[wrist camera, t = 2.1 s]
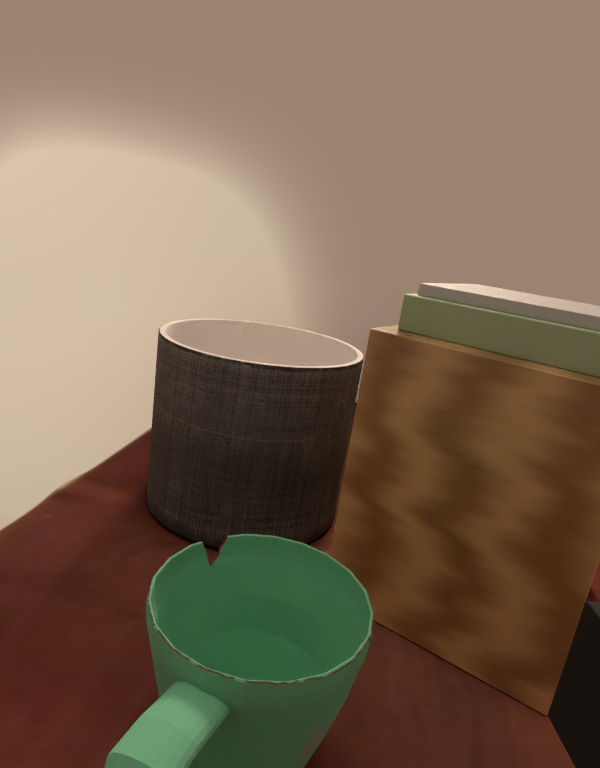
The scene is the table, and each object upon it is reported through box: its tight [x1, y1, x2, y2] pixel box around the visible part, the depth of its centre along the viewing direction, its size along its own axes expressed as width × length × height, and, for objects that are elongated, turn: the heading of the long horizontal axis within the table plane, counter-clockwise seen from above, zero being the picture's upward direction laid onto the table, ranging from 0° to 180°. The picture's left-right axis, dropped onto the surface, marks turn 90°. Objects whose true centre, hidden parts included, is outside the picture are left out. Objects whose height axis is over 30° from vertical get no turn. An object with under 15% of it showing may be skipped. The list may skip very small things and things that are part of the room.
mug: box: [103, 534, 374, 768], centre depth 23 cm, size 15×10×10 cm
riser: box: [330, 325, 600, 716], centre depth 41 cm, size 16×18×20 cm
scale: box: [398, 283, 600, 378], centre depth 38 cm, size 14×14×3 cm
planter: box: [146, 319, 364, 548], centre depth 51 cm, size 18×18×16 cm
